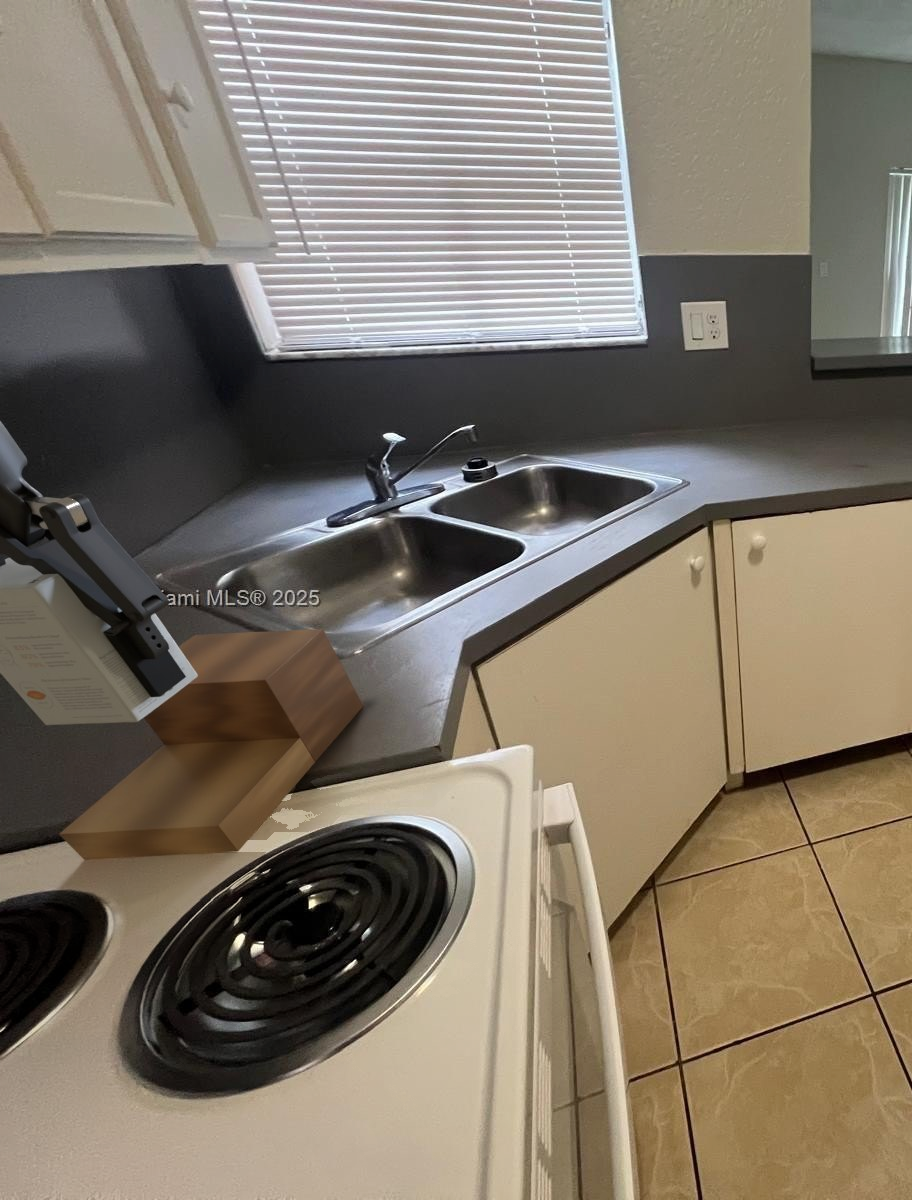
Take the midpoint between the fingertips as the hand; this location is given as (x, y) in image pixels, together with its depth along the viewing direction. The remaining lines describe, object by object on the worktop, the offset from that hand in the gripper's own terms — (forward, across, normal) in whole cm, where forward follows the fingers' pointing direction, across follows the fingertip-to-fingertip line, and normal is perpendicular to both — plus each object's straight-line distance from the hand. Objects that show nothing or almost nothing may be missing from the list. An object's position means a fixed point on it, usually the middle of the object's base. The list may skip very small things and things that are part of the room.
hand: (117, 689), depth 54 cm
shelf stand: (+15, 0, -4) cm, 15 cm away
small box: (+1, 0, 0) cm, 1 cm away
